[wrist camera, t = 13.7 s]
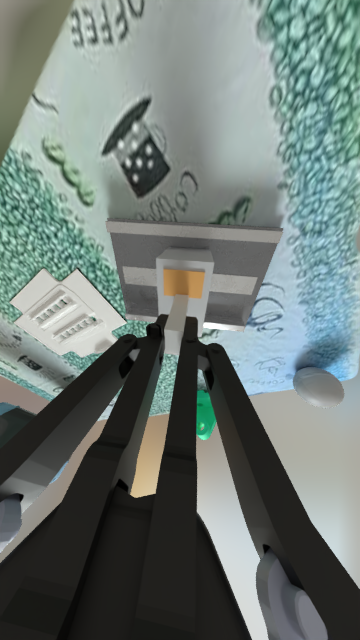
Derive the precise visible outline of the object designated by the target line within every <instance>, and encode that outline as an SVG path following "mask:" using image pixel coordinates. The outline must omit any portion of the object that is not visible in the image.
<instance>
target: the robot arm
mask: <svg viewBox="0 0 360 640" xmlns="http://www.w3.org/2000/svg"><path fill="white" fill-rule="evenodd" d="M188 300H189V295H181V294H176V295H175V298H174V301H173V304H172V307H171V310H170V313H169V315H168V314H160V315H159V316H158V318H157V320H156V322H155V323H151V324H149V325H147V326H146V331H147V336H145V337H141V338H136V336H135V335H133V334H126V335H123V336H122V337H120V338H119V339H118V340H117V341H116V342H115V343H114V344H113V345H112V346H111V347H110V348H108V349H107V350H106V351H105V352H104V353H103V354H102V355H101V356H100V357H99V358H98V359H97V360H95V361H94V362H93V363H92V364H91V365H90V366H89V367H88V368H87V369H86V370H85V371H84V372H83V373H81V374H80V375H79V376H78V377H77V378H76V379H75V380H74V381H73V382H72V383H71V384H70V385H68V386H67V387H66V388H65V389H64V390H63V391H62V392H61V393H60V394H59V395H58V396H57V397H56V398H54V399H53V400H52V401H51V402H50V403H49V404H48V405H47V406H46V407H45V408H44V409H43V410H42V411H40V412H39V413H38V414H34V413H32V412H30V411H27V410H25V409H22V408H20V407H19V406H14V405H12V404H9V403H4V402H2V403H0V553H1V552H2V550H3V549H4V548H5V547H6V545H7V544H9V543H10V542H11V541H12V540H13V539H14V538H15V536H16V535H17V533H18V531H19V529H20V527H21V522H22V520H21V514H22V513H23V512H24V511H25V510H26V509H27V508H28V507H29V506H30V505H31V504H32V503H33V502H34V501H35V500H36V498H37V497H38V496H39V495H40V494H41V493H42V491H44V489H45V488H46V487H47V486H48V485H49V484H50V483H52V482H54V481H55V480H56V479H57V478H58V477H59V476H60V474H61V472H62V471H63V469H64V467H65V465H66V464H67V463H68V462H69V459H70V457H71V455H72V453H73V452H74V451H75V449H76V448H77V446H78V445H79V444H80V442H81V441H82V439H83V438H84V437H85V436H86V434H87V433H88V432H89V430H90V429H91V427H92V426H93V425H94V424H95V422H96V421H97V420H98V418H99V417H100V416H101V414H102V413H103V412H104V410H105V409H106V407H107V406H108V405H109V403H110V402H111V401H112V399H113V398H114V397H115V395H116V394H117V393H118V391H119V390H120V389H121V387H122V386H123V385H124V386H123V388H122V390H121V392H120V394H119V396H118V398H117V401H116V403H115V405H114V407H113V409H112V411H111V414H110V416H109V418H108V420H107V422H106V424H105V427H104V429H103V431H102V433H101V435H100V437H99V438H98V440H97V441H95V442H94V443H93V444H92V445H91V446H90V448H89V449H88V450H87V452H86V454H85V456H84V458H83V460H82V462H81V464H80V466H79V468H78V470H77V472H76V474H75V476H74V478H73V480H72V482H71V484H70V486H69V488H68V490H67V492H66V494H65V496H64V498H63V500H62V502H61V503H60V504H59V505H58V506H57V507H56V508H55V509H54V510H53V511H52V512H51V513H50V514H49V515H48V516H47V517H46V518H45V519H44V520H43V521H42V522H41V523H40V524H39V525H38V526H37V527H36V528H35V529H34V530H33V531H32V532H31V533H30V534H29V535H28V536H27V537H26V538H25V539H24V540H23V541H22V542H21V543H20V544H19V545H18V546H17V547H16V548H15V549H14V550H13V551H12V552H11V553H10V554H9V555H8V556H7V557H6V558H5V559H4V560H3V561H2V562H1V563H0V640H252V639H251V636H250V633H249V631H248V629H247V626H246V623H245V621H244V618H243V616H242V613H241V611H240V609H239V606H238V604H237V601H236V599H235V596H234V594H233V591H232V589H231V586H230V584H229V581H228V579H227V576H226V574H225V571H224V569H223V566H222V564H221V561H220V559H219V556H218V554H217V551H216V549H215V546H214V544H213V541H212V539H211V536H210V534H209V532H208V529H207V528H206V526H205V524H204V522H203V521H202V519H201V517H200V516H199V514H198V513H197V460H196V426H197V377H198V369H201V370H202V372H203V376H204V379H205V383H206V386H207V390H208V393H209V397H210V400H211V404H212V407H213V411H214V414H215V418H216V421H217V425H218V428H219V432H220V435H221V439H222V442H223V446H224V449H225V453H226V456H227V460H228V463H229V467H230V471H231V474H232V477H233V481H234V485H235V488H236V491H237V495H238V499H239V502H240V505H241V509H242V512H243V515H244V518H245V522H246V524H247V528H248V530H249V533H250V535H251V538H252V541H253V543H254V546H255V548H256V551H257V553H258V555H259V557H260V559H261V560H260V562H259V564H258V567H257V572H256V589H257V595H258V600H259V603H260V607H261V610H262V613H263V617H264V620H265V623H266V627H267V632H268V638H269V640H360V589H359V588H358V586H357V585H356V584H355V582H354V581H353V579H352V578H351V577H350V575H349V574H348V573H347V571H346V570H345V568H344V567H343V566H342V564H341V563H340V561H339V560H338V559H337V557H336V556H335V554H334V553H333V552H332V550H331V549H330V547H329V546H328V545H327V543H326V542H325V541H324V539H323V538H322V536H321V535H320V534H319V532H318V531H317V529H316V528H315V527H314V525H313V524H312V522H311V521H310V519H309V517H308V515H307V513H306V511H305V509H304V507H303V505H302V503H301V501H300V499H299V497H298V495H297V493H296V491H295V489H294V487H293V485H292V483H291V481H290V479H289V477H288V475H287V473H286V471H285V469H284V467H283V465H282V463H281V461H280V459H279V457H278V455H277V453H276V451H275V449H274V447H273V445H272V443H271V441H270V439H269V437H268V435H267V433H266V431H265V429H264V427H263V425H262V423H261V421H260V419H259V417H258V415H257V413H256V411H255V409H254V407H253V405H252V403H251V401H250V399H249V397H248V395H247V393H246V391H245V389H244V387H243V385H242V383H241V381H240V379H239V377H238V375H237V373H236V371H235V369H234V367H233V365H232V363H231V361H230V359H229V357H228V355H227V353H226V351H225V349H224V348H223V347H222V346H221V345H220V344H217V343H211V344H209V345H205V344H203V343H201V342H200V341H199V340H198V319H197V318H196V317H190V316H187V311H188ZM164 351H165V354H174V355H179V359H178V365H177V371H176V378H175V384H174V390H173V396H172V402H171V409H170V415H169V421H168V428H167V434H166V440H165V446H164V451H163V455H162V459H161V465H160V471H159V477H158V483H157V489H156V494H152V495H147V496H143V497H138V498H134V497H133V496H131V495H130V492H131V488H132V484H133V480H134V476H135V471H136V464H137V458H138V453H139V450H140V445H141V442H142V438H143V434H144V431H145V427H146V422H147V419H148V416H149V412H150V408H151V404H152V400H153V397H154V393H155V389H156V385H157V381H158V378H159V374H160V370H161V366H162V362H163V359H164Z"/></svg>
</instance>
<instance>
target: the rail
mask: <svg viewBox="0 0 360 640" xmlns="http://www.w3.org/2000/svg"><path fill="white" fill-rule="evenodd" d="M107 219H108V221H105V222H106V227H107V232H110V234H111V239H112V244H113V249H114V254H115V259H116V264H117V269H118V274H119V279H120V284H121V288H122V293H123V298H124V303H125V308H126V313H125V317H126V319H129V320H138V321H148V322H156V320H157V318H158V316H159V311H158V290H157V270H156V258H157V257H158V256H159V255H160V254H162V253H163V252H164V251H165V250H166V249H168V248H169V247H179V248H193V249H208V250H210V251H211V254H212V257H213V260H214V268H213V273H212V279H211V285H210V290H209V296H208V302H207V307H206V313H205V319H204V325H203V328H213V329H222V330H231V331H241V332H244V330H245V327H246V326H245V325H246V323H247V320H248V318H249V315H250V313H251V310H252V307H253V305H254V302H255V300H256V297H257V295H258V292H259V290H260V287H261V284H262V282H263V279H264V277H265V274H266V272H267V269H268V267H269V264H270V262H271V259H272V256H273V254H274V251H275V249H276V246H277V244H278V243H279V241H280V239H281V236H282V233H283V232H282V231H283V228H271V227H253V226H236V225H218V224H201V223H183V222H166V221H148V220H131V219H113V218H107Z"/></svg>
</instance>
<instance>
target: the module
mask: <svg viewBox="0 0 360 640" xmlns="http://www.w3.org/2000/svg"><path fill="white" fill-rule="evenodd" d="M213 268H214V260H213V257H212V254H211V251H210V250H208V249H193V248H179V247H169V248H168V249H166V250H165V251H164V252H163V253H162V254H160V255H159V256H158V257H157V258H156V270H157V290H158V311H159V315H160V314H168V315H169V313H170V310H171V307H172V304H173V301H174V298H175V295H176V294H181V295H189V300H188V311H187V316H190V317H196V318H197V319H198V337H201V336H202V330H203V325H204V319H205V313H206V307H207V302H208V296H209V290H210V285H211V279H212V273H213Z"/></svg>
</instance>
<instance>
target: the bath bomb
mask: <svg viewBox="0 0 360 640" xmlns="http://www.w3.org/2000/svg"><path fill="white" fill-rule="evenodd" d="M293 386H294V389H295V391H296V392H297V394H298V395H299V396H300V397H301V398H302V399H303V400H305V401H306V402H308V403H310V404H311V405H314V406H317V407H321V408H331V407H335V406H337V405H338V404H340V403H341V401H342V400H343V398H344V389H343V387H342V384H341V383H340V381H339V380H338V379H337V378H336V377H335V376H334V375H333V374H331V373H330V372H328V371H326V370H323V369H320V368H316V367H306V368H302V369H300V370H299V371H297V372H296V373H295V375H294V377H293Z"/></svg>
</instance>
